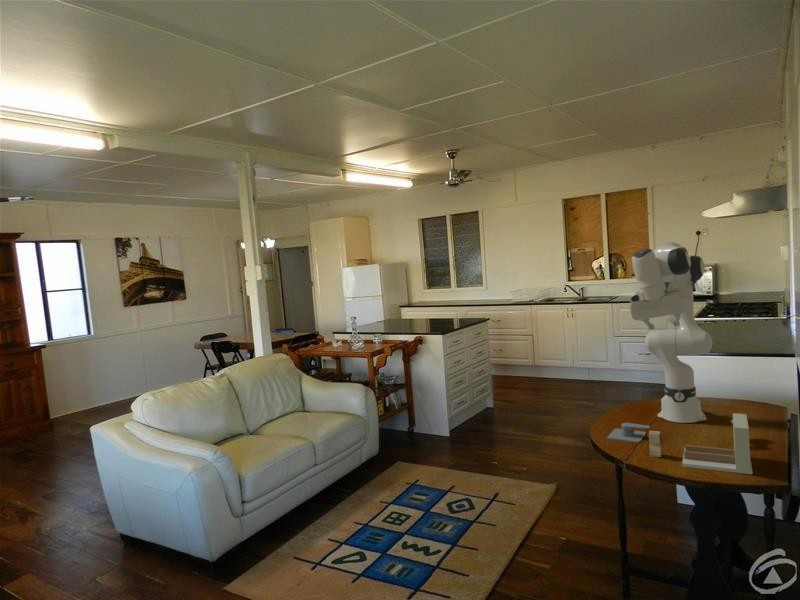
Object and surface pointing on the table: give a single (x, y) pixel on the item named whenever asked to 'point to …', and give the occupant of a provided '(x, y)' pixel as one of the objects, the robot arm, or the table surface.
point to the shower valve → (628, 433)
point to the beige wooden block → (655, 443)
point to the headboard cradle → (723, 452)
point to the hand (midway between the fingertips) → (664, 327)
